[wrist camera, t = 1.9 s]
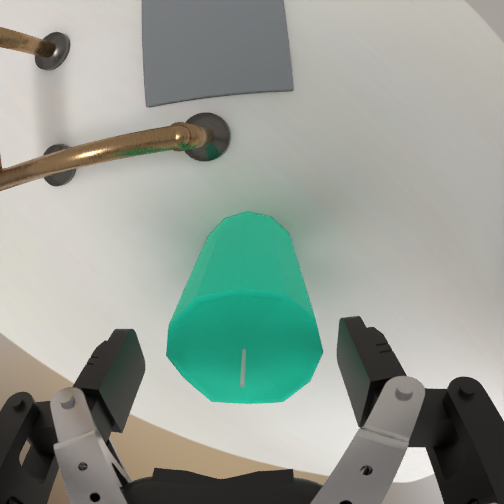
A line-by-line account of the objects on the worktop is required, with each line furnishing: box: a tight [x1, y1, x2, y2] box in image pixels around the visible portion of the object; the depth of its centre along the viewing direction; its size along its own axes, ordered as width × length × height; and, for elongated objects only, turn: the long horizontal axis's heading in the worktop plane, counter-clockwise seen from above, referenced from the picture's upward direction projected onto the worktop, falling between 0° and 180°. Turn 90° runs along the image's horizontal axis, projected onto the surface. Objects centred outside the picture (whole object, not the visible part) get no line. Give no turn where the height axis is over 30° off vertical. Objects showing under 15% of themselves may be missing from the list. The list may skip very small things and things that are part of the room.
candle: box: [166, 212, 323, 404], centre depth 15 cm, size 6×6×12 cm
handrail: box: [0, 27, 230, 191], centre depth 13 cm, size 14×12×8 cm
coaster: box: [142, 0, 293, 107], centre depth 15 cm, size 9×9×1 cm
